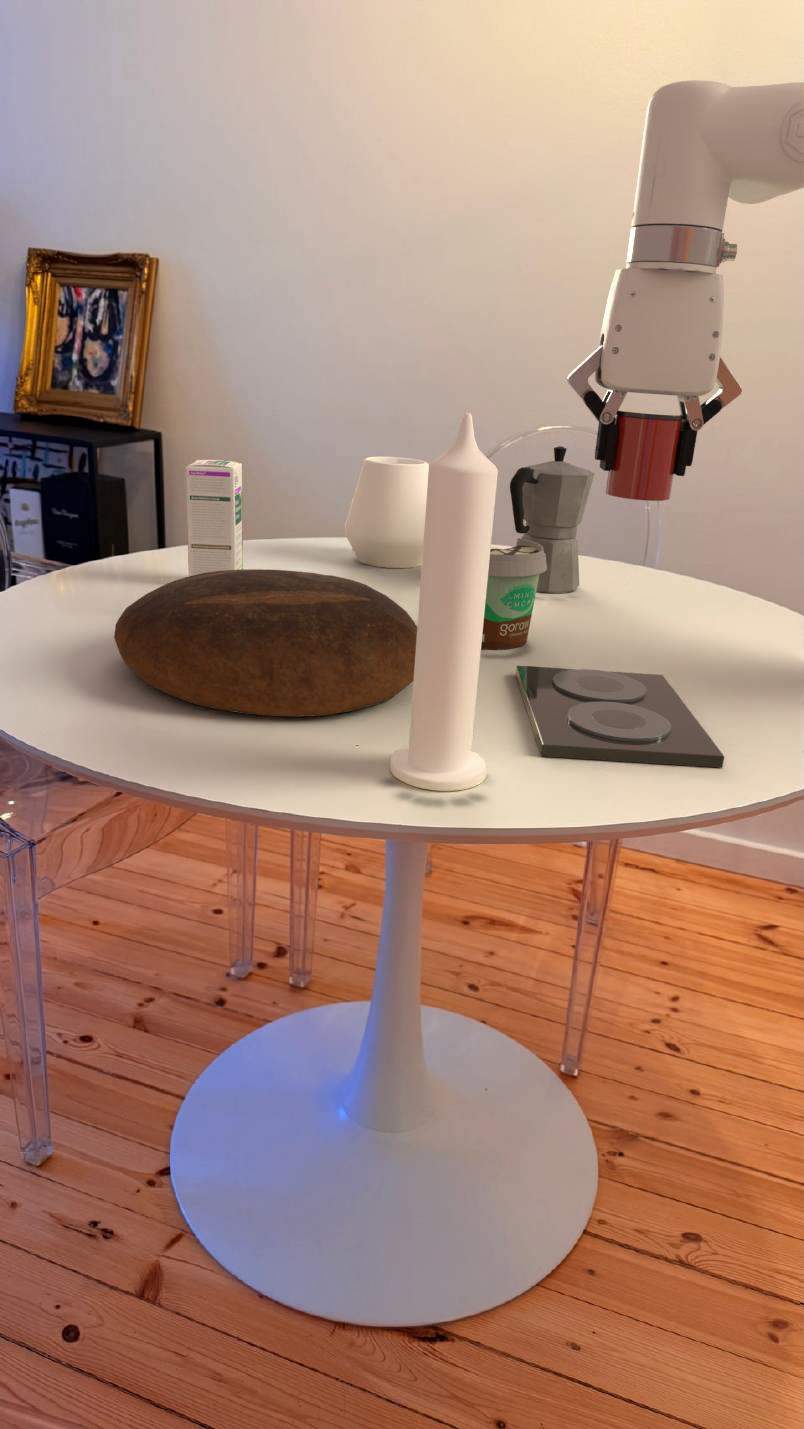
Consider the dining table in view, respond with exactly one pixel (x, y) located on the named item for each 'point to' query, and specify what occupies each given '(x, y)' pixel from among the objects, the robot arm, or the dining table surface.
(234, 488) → the syrup box
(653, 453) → the red canister
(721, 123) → the robot arm
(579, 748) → the hob
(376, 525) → the white vase
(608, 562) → the dining table surface
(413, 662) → the bread
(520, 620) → the food container
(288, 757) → the dining table surface
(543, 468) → the coffeepot
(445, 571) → the candle
